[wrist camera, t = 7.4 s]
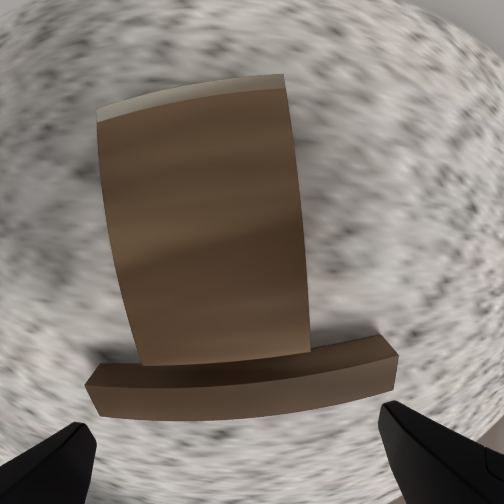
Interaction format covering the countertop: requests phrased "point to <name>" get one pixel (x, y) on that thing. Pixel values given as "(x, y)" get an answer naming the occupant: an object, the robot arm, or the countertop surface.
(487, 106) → the countertop surface
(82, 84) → the countertop surface
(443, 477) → the robot arm
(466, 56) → the countertop surface
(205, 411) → the strip
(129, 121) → the slab
